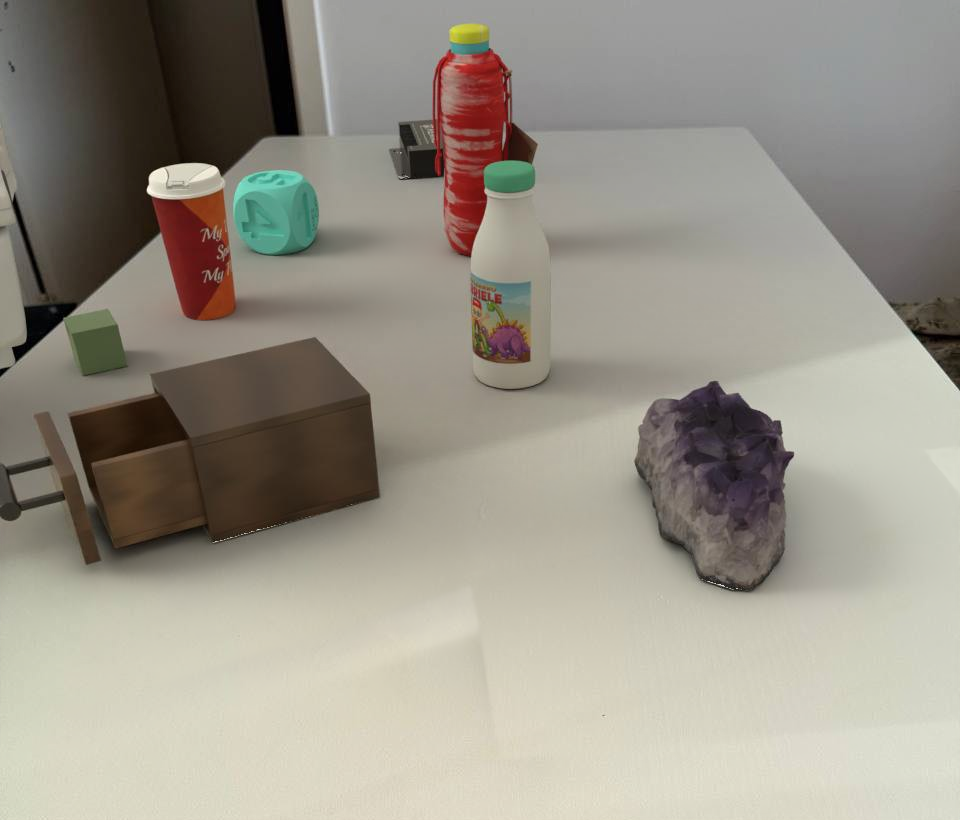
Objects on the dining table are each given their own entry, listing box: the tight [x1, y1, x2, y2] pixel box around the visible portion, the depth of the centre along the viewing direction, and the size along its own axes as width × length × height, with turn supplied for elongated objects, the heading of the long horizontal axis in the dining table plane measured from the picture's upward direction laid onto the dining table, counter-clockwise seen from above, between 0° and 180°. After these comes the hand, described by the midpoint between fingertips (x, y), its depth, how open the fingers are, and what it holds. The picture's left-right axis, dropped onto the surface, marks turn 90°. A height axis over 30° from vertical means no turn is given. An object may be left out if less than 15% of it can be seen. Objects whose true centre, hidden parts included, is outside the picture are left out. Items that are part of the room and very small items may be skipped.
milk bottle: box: [470, 161, 552, 390], centre depth 107 cm, size 8×8×20 cm
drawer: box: [0, 392, 207, 566], centre depth 91 cm, size 18×11×8 cm, turn 117°
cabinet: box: [149, 336, 381, 543], centre depth 95 cm, size 15×13×10 cm
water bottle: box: [431, 23, 539, 257], centre depth 134 cm, size 12×8×25 cm, turn 95°
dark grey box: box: [388, 118, 444, 179], centre depth 164 cm, size 20×14×17 cm
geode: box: [633, 380, 795, 591], centre depth 89 cm, size 20×12×10 cm, turn 6°
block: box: [62, 308, 128, 377], centre depth 117 cm, size 5×5×5 cm
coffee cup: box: [146, 162, 236, 321], centre depth 124 cm, size 8×8×15 cm
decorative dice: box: [232, 169, 320, 256], centre depth 142 cm, size 8×8×8 cm
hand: (1, 360), depth 85 cm, fingers closed
